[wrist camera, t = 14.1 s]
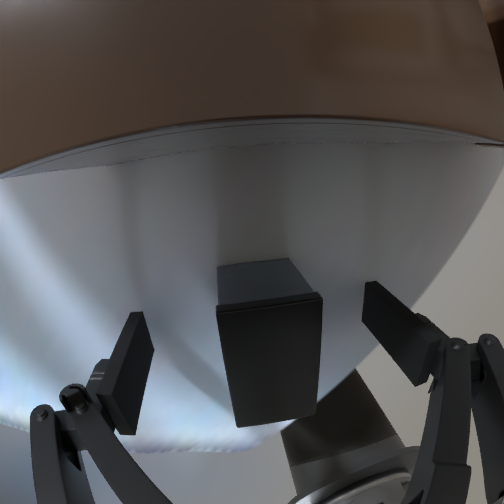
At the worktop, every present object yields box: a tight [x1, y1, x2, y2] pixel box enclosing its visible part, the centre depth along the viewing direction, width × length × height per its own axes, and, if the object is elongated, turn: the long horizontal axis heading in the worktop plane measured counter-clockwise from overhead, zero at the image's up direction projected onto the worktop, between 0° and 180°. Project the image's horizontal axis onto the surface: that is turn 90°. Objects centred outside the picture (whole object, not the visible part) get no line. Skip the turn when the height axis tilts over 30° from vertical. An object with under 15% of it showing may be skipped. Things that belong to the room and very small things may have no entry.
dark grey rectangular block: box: [216, 258, 323, 428], centre depth 14 cm, size 4×7×5 cm, turn 5°
